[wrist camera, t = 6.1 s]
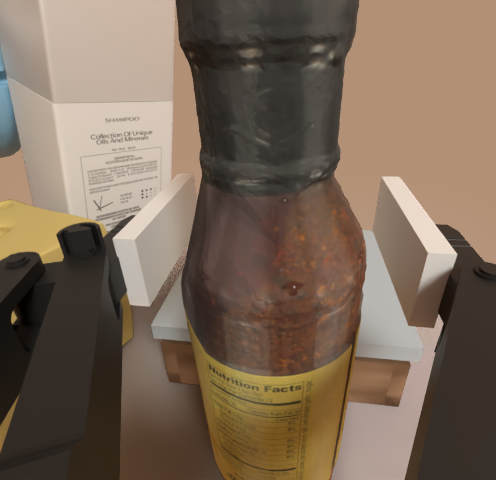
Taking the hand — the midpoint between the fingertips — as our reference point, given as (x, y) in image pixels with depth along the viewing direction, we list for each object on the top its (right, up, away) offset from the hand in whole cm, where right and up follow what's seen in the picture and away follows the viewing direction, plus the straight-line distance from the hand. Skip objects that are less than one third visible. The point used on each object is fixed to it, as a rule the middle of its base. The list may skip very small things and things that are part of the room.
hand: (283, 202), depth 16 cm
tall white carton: (-16, -4, +17) cm, 24 cm away
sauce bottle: (0, -13, +1) cm, 13 cm away
